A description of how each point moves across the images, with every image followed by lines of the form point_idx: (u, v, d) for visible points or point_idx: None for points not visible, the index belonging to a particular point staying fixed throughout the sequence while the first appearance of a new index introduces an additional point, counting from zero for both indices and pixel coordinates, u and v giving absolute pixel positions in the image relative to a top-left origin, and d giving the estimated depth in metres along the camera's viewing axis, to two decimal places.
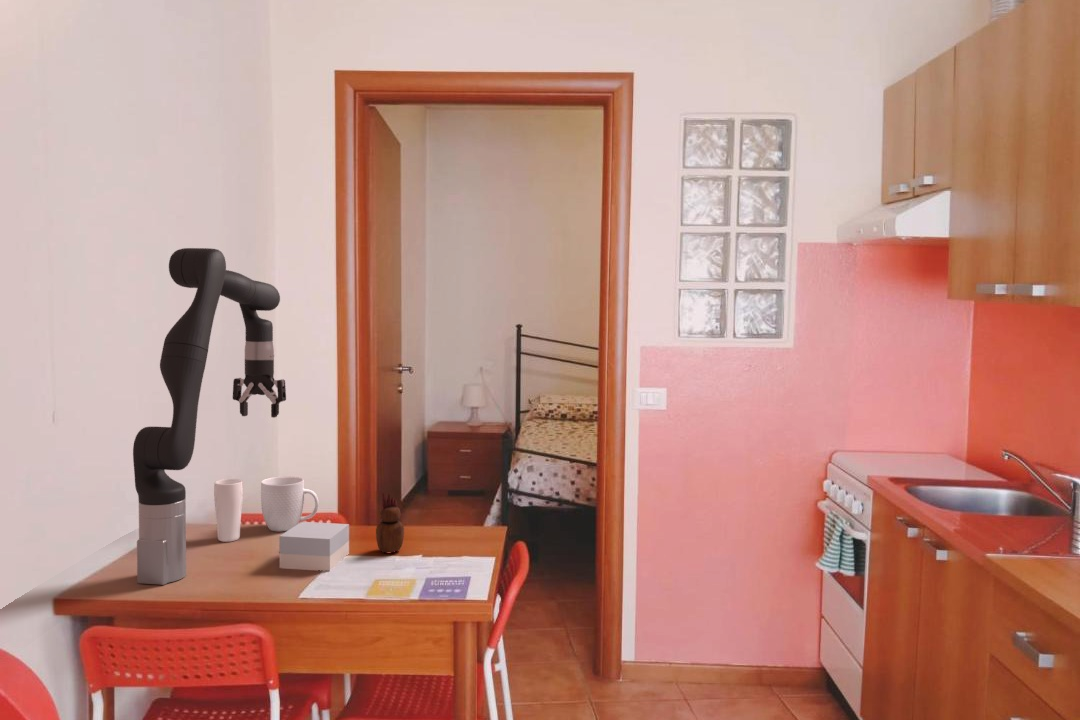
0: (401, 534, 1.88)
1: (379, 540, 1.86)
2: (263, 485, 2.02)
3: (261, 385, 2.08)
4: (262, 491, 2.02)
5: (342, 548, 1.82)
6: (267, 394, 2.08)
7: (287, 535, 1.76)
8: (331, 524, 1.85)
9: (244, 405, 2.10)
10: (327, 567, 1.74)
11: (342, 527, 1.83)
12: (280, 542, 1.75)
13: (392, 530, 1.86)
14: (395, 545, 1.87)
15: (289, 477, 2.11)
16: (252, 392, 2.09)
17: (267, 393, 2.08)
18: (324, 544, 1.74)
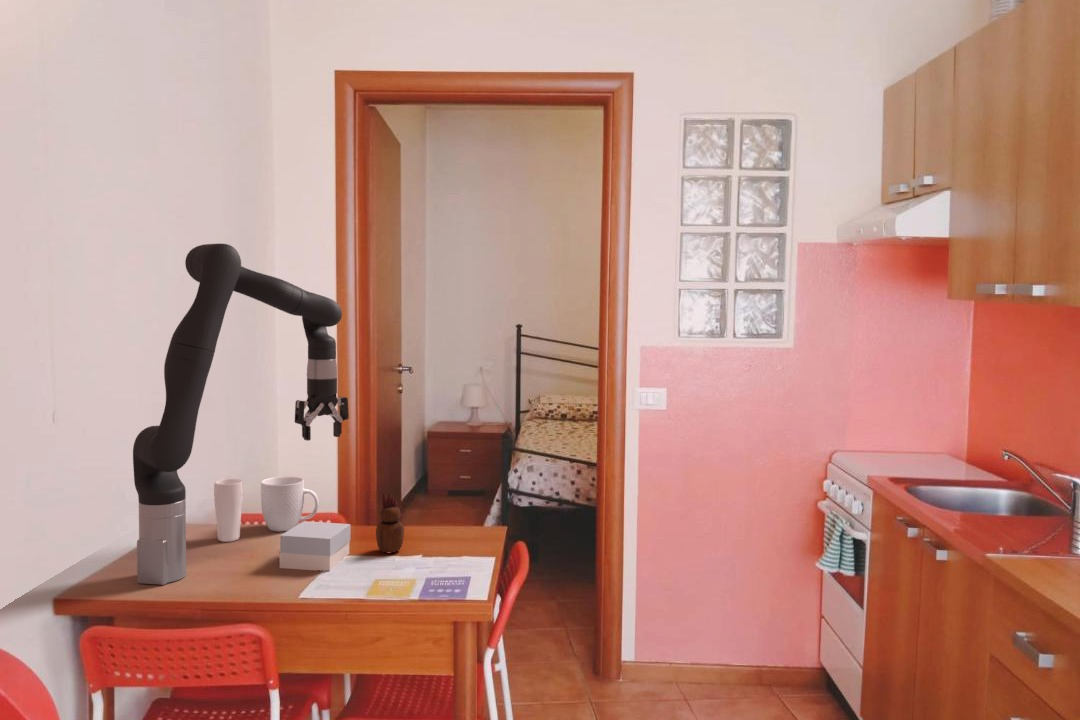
0: (401, 534, 1.88)
1: (379, 540, 1.86)
2: (263, 485, 2.02)
3: (331, 404, 1.98)
4: (262, 491, 2.02)
5: (342, 548, 1.82)
6: (336, 413, 2.00)
7: (288, 534, 1.76)
8: (333, 524, 1.85)
9: None
10: (326, 567, 1.74)
11: (343, 527, 1.83)
12: (281, 541, 1.75)
13: (392, 530, 1.86)
14: (395, 545, 1.87)
15: (289, 477, 2.11)
16: (319, 413, 1.97)
17: (336, 412, 2.00)
18: (325, 543, 1.74)
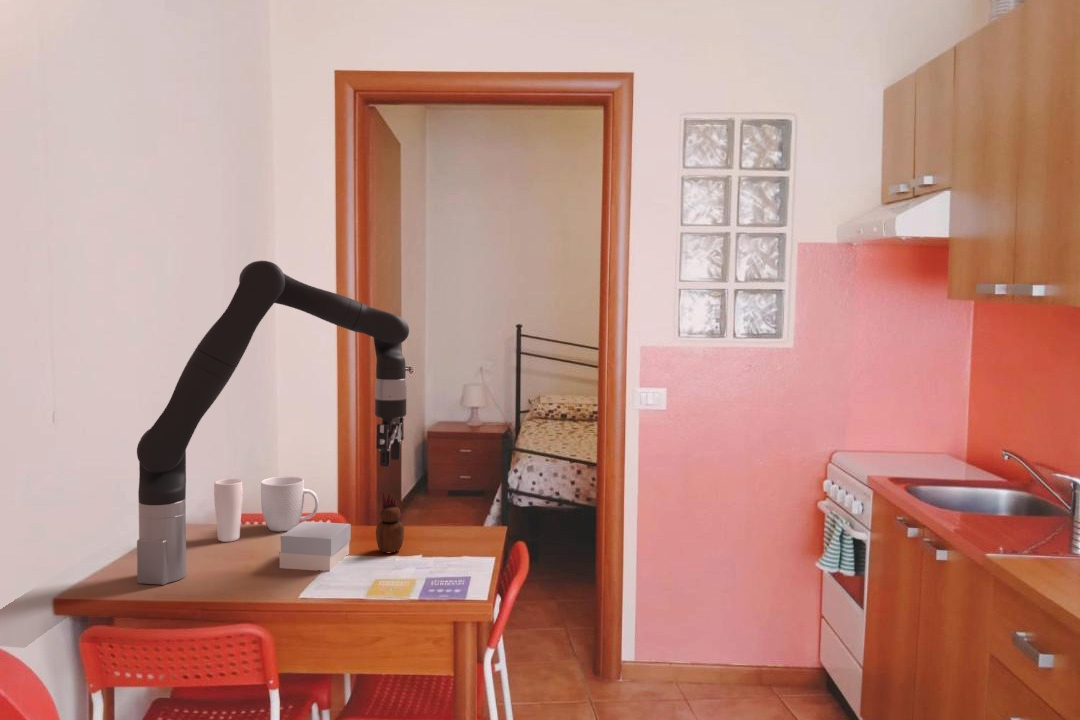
0: (401, 534, 1.88)
1: (379, 540, 1.86)
2: (263, 485, 2.02)
3: (400, 426, 1.88)
4: (262, 491, 2.02)
5: (342, 548, 1.82)
6: (401, 435, 1.90)
7: (289, 534, 1.76)
8: (333, 524, 1.85)
9: None
10: (327, 567, 1.74)
11: (344, 527, 1.83)
12: (281, 542, 1.75)
13: (392, 530, 1.86)
14: (395, 545, 1.87)
15: (289, 477, 2.11)
16: None
17: (401, 433, 1.90)
18: (325, 543, 1.74)
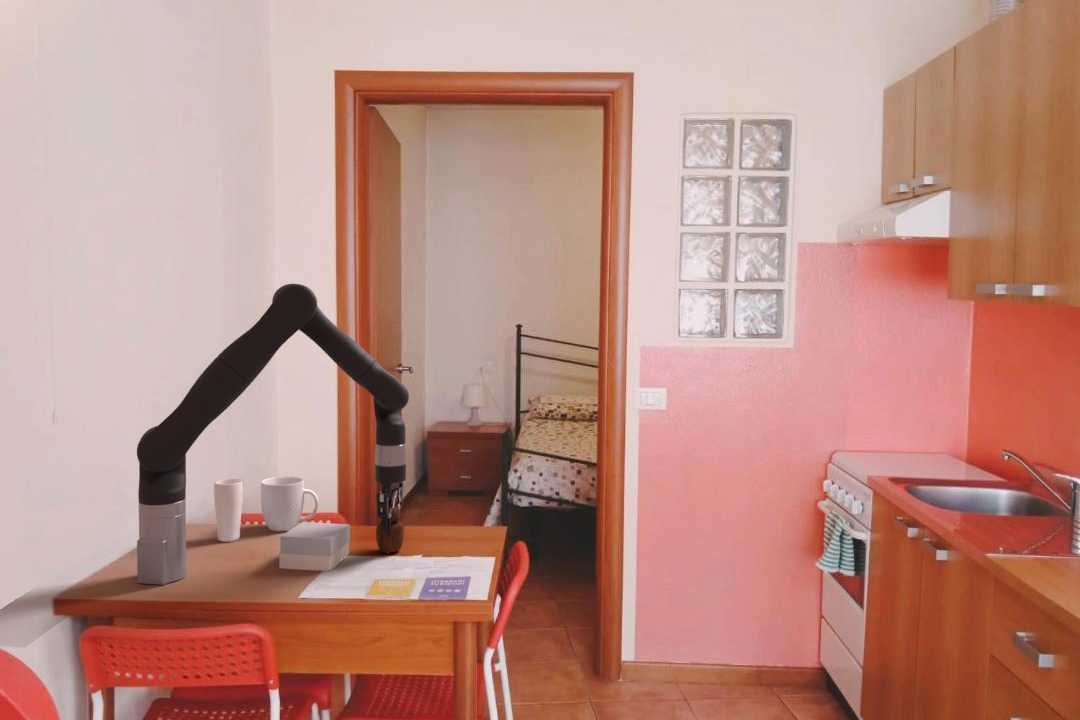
0: (401, 534, 1.88)
1: (379, 540, 1.86)
2: (263, 485, 2.02)
3: (399, 490, 1.89)
4: (262, 491, 2.02)
5: (342, 548, 1.82)
6: (400, 500, 1.91)
7: (288, 535, 1.76)
8: (332, 524, 1.85)
9: None
10: (326, 568, 1.74)
11: (343, 527, 1.83)
12: (281, 542, 1.75)
13: (392, 530, 1.86)
14: (395, 545, 1.87)
15: (289, 477, 2.11)
16: None
17: (400, 499, 1.91)
18: (325, 544, 1.74)
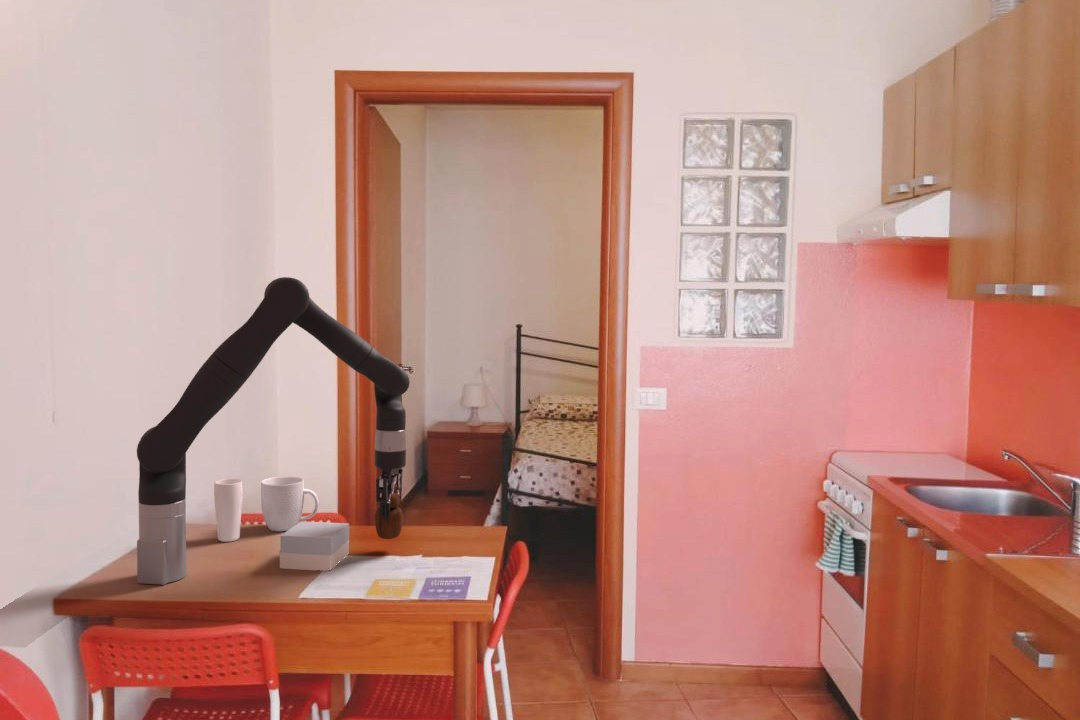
0: (400, 520, 1.87)
1: (378, 526, 1.86)
2: (263, 485, 2.02)
3: (399, 476, 1.89)
4: (262, 491, 2.02)
5: (342, 548, 1.82)
6: (399, 486, 1.90)
7: (288, 534, 1.76)
8: (331, 524, 1.85)
9: None
10: (327, 567, 1.74)
11: (342, 526, 1.83)
12: (281, 541, 1.75)
13: (391, 515, 1.86)
14: (394, 531, 1.86)
15: (289, 477, 2.11)
16: None
17: (399, 485, 1.90)
18: (326, 543, 1.74)
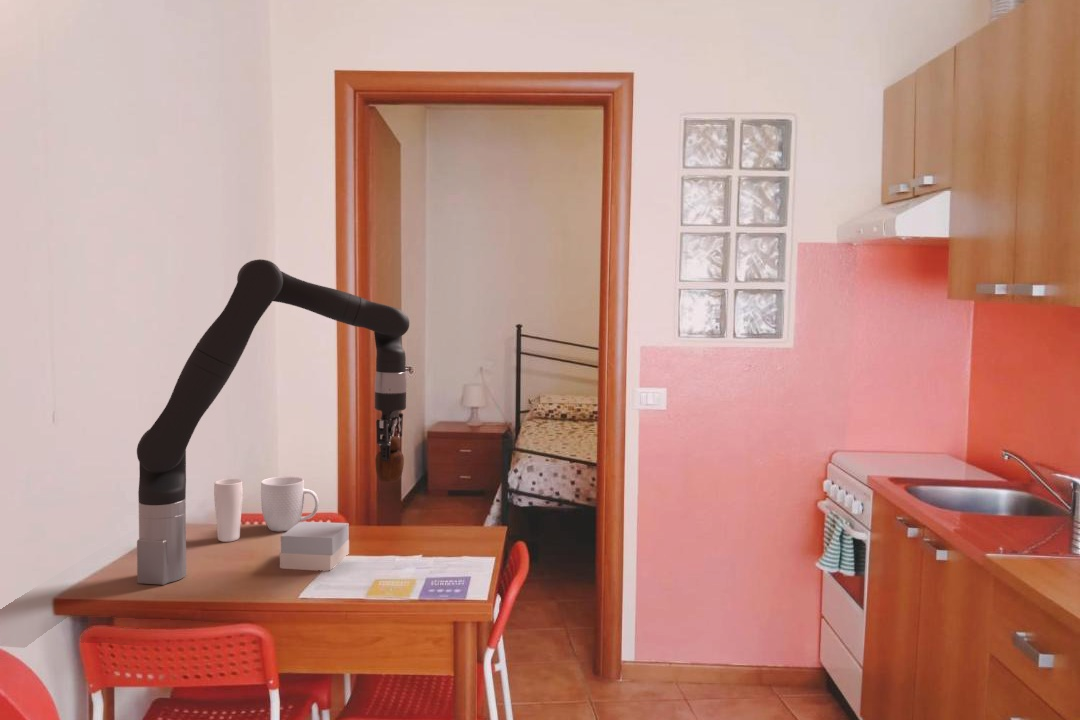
0: (401, 463, 1.86)
1: (379, 468, 1.85)
2: (263, 485, 2.02)
3: (399, 420, 1.88)
4: (262, 491, 2.02)
5: (342, 548, 1.82)
6: (399, 430, 1.89)
7: (289, 535, 1.76)
8: (331, 523, 1.85)
9: None
10: (327, 567, 1.74)
11: (342, 526, 1.83)
12: (282, 542, 1.75)
13: (392, 458, 1.85)
14: (395, 473, 1.85)
15: (289, 477, 2.11)
16: None
17: (399, 428, 1.89)
18: (327, 543, 1.74)
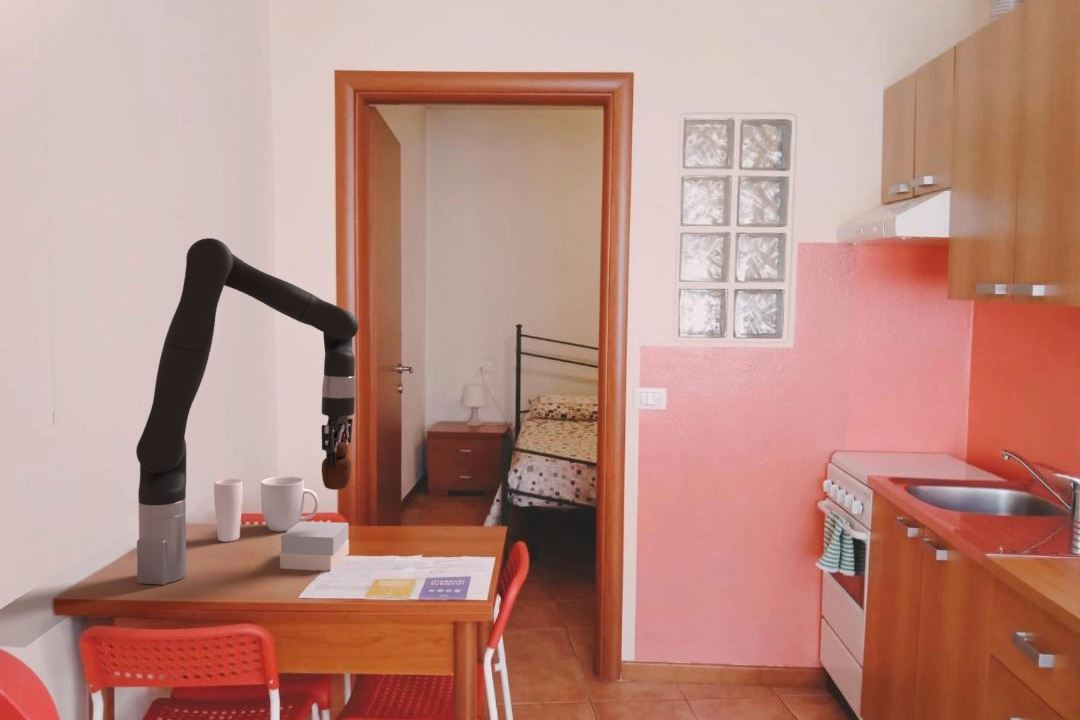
0: (348, 470, 1.80)
1: (324, 475, 1.79)
2: (263, 485, 2.02)
3: (347, 425, 1.82)
4: (262, 491, 2.02)
5: (342, 548, 1.82)
6: (348, 436, 1.84)
7: (289, 534, 1.76)
8: (331, 523, 1.85)
9: None
10: (327, 567, 1.74)
11: (342, 526, 1.83)
12: (282, 542, 1.75)
13: (338, 465, 1.79)
14: (341, 481, 1.80)
15: (289, 477, 2.11)
16: None
17: (348, 434, 1.84)
18: (328, 542, 1.74)
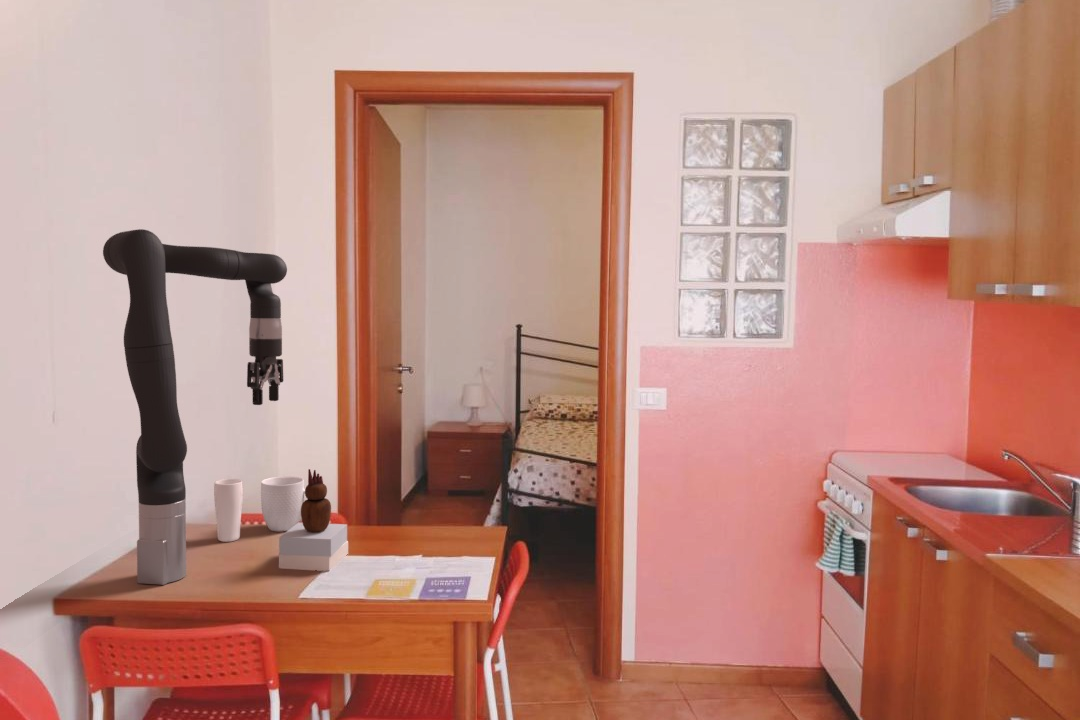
0: (329, 511, 1.79)
1: (306, 519, 1.77)
2: (263, 485, 2.02)
3: (276, 366, 1.89)
4: (262, 491, 2.02)
5: (341, 549, 1.82)
6: (278, 376, 1.91)
7: (287, 536, 1.75)
8: (329, 525, 1.85)
9: None
10: (326, 568, 1.74)
11: (341, 527, 1.83)
12: (280, 543, 1.75)
13: (321, 507, 1.78)
14: (324, 523, 1.78)
15: (289, 477, 2.11)
16: None
17: (278, 374, 1.91)
18: (325, 544, 1.74)
